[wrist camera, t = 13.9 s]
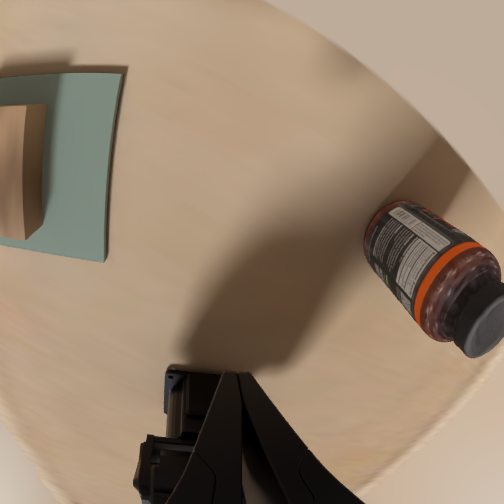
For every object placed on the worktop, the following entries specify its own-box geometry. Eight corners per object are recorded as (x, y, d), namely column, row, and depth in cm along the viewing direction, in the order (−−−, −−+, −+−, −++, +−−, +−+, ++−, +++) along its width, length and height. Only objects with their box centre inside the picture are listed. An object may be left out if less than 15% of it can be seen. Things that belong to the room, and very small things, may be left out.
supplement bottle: (437, 224, 22) (538, 303, 12) (393, 282, 23) (473, 381, 13) (394, 181, 20) (516, 256, 10) (344, 248, 21) (431, 362, 11)
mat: (106, 259, 20) (104, 262, 19) (-22, 237, 17) (-25, 239, 17) (123, 74, 15) (121, 73, 14) (-22, 82, 12) (-26, 82, 12)
